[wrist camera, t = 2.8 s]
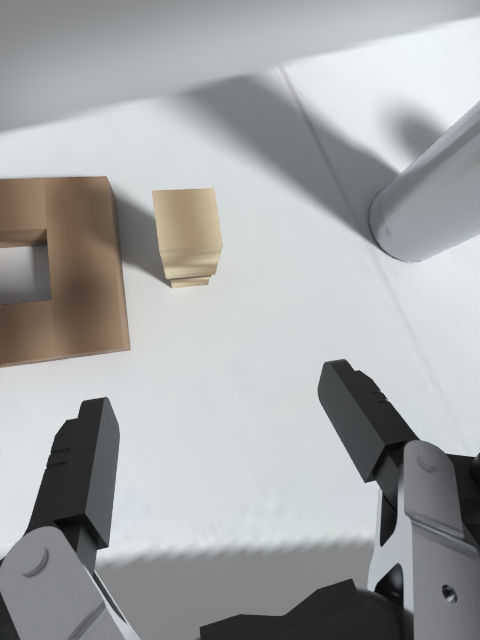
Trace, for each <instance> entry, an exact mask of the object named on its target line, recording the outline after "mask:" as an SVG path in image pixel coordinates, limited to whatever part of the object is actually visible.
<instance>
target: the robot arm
mask: <svg viewBox="0 0 480 640" xmlns="http://www.w3.org/2000/svg"><path fill="white" fill-rule="evenodd" d="M369 220H370V227H371V230H372V233H373V235H374V237H375V239H376V241H377V242H378V244H379V245H380V246H381V247H382V249H384V250H385V251H386V252H387V253H388V254H389V255H391V256H393V257H395V258H396V259H399V260H402V261H405V262H420V261H422V260H425V259H428V258H430V257H432V256H434V255H436V254H438V253H440V252H443V251H445V250H447V249H449V248H451V247H453V246H456V245H458V244H460V243H462V242H464V241H466V240H469V239H471V238H473V237H475V236H477V235H479V234H480V101H479V102H478V103H477V104H476V105H475V106H473V107H472V108H471V109H470V110H469V111H468V112H467V113H466V114H465V115H464V116H463V117H462V118H460V119H459V120H458V121H457V122H456V123H455V124H454V125H453V126H452V127H451V128H450V129H449V130H447V131H446V132H445V133H444V134H443V135H442V136H441V137H440V138H439V139H438V140H437V141H436V142H434V143H433V144H432V145H431V146H430V147H429V148H428V149H427V150H426V151H425V152H424V153H423V154H422V155H420V156H419V157H418V158H417V159H416V160H415V161H414V162H413V163H412V164H411V165H410V166H409V167H407V168H406V169H405V170H404V171H403V172H402V173H401V174H400V175H399V176H398V177H397V178H395V179H394V180H393V181H392V182H391V183H390V184H389V185H388V186H387V187H386V188H385V189H384V190H383V191H382V192H381V193H380V194H378V195H377V196H376V198H375V199H374V201H373V203H372V205H371V208H370V215H369ZM318 397H319V400H320V403H321V405H322V406H323V408H324V410H325V412H326V414H327V416H328V417H329V419H330V421H331V423H332V425H333V426H334V428H335V430H336V432H337V434H338V435H339V437H340V439H341V441H342V443H343V444H344V446H345V448H346V450H347V452H348V453H349V455H350V457H351V459H352V461H353V463H354V464H355V466H356V468H357V470H358V472H359V473H360V475H361V477H362V479H363V481H364V482H365V483H367V482H371V481H375V480H376V481H377V483H378V485H379V486H380V489H379V493H378V507H377V523H376V538H375V549H374V554H373V558H372V561H371V564H370V569H369V576H368V587H367V590H366V589H362V588H356V587H355V585H354V582H353V580H352V579H349V580H346V581H342V582H339V583H336V584H333V585H330V586H327V587H324V588H321V589H318V590H316V591H315V592H314V593H312V594H311V595H310V596H309V597H308V598H306V599H305V600H304V601H302V602H301V603H300V604H299V605H297V606H296V607H295V608H293V609H292V610H291V611H290V612H288V613H287V614H286V615H283V616H262V615H243V614H240V615H237V616H233V617H230V618H227V619H224V620H221V621H218V622H215V623H212V624H209V625H205V626H202V627H200V636H199V637H198V638H197V639H196V640H480V453H479V454H478V455H477V456H476V457H469V456H460V455H452V454H445V453H444V452H443V451H442V450H441V449H439V448H438V447H436V446H435V445H433V444H431V443H429V442H426V441H421V440H420V439H419V438H418V437H417V436H416V435H415V433H414V432H413V431H412V430H411V428H410V427H409V426H408V424H407V423H406V422H405V421H404V419H403V418H402V417H401V416H400V414H399V413H398V412H397V410H396V409H395V408H394V407H393V405H392V404H391V403H390V402H388V399H387V398H386V396H385V395H384V394H383V393H382V392H381V391H380V389H379V388H378V386H377V385H376V384H375V382H374V381H373V380H372V379H371V378H370V377H368V376H367V375H365V374H364V373H363V372H361V371H360V370H358V371H354V369H353V368H352V367H351V365H350V364H349V363H348V361H346V360H345V359H341V360H335V361H329V362H325V363H324V365H323V369H322V373H321V377H320V381H319V385H318ZM119 441H120V433H119V425H118V422H117V419H116V417H115V414H114V411H113V409H112V406H111V403H110V401H109V399H108V397H104V398H98V399H91V400H85V401H83V402H82V403H81V406H80V410H79V414H78V418H76V419H70V420H66V422H65V423H64V424H63V426H62V427H61V428H60V430H59V431H58V433H57V434H56V435H55V438H54V442H53V445H52V448H51V455H49V458H48V462H47V465H46V466H47V468H46V469H45V472H44V475H43V479H42V482H41V485H40V489H39V492H38V495H37V499H36V502H35V506H34V509H33V512H32V516H31V519H30V522H29V525H28V528H27V530H26V532H25V534H24V535H23V537H22V538H21V539H20V540H19V541H18V542H17V543H16V544H15V545H14V546H13V547H12V548H11V550H10V551H9V552H8V554H7V555H6V556H5V557H4V558H3V559H2V560H0V640H140V638H139V637H138V635H137V634H136V633H135V632H134V630H133V629H132V627H131V626H130V624H129V623H128V621H127V620H126V618H125V617H124V615H123V613H122V612H121V610H120V609H119V607H118V606H117V604H116V603H115V601H114V599H113V598H112V596H111V595H110V593H109V592H108V590H107V588H106V587H105V585H104V584H103V582H102V581H101V579H100V577H99V576H98V574H97V573H96V571H95V570H94V568H95V560H96V553H97V550H99V549H103V548H107V547H109V538H110V529H111V519H112V509H113V499H114V490H115V480H116V470H117V461H118V451H119Z"/></svg>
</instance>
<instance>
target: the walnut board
mask: <svg viewBox="0 0 480 640" xmlns="http://www.w3.org/2000/svg"><path fill="white" fill-rule="evenodd" d="M36 245H48V258H49V274H50V289H51V300H45V301H35V302H25V303H15V304H5V305H0V368H3V367H10V366H17V365H25V364H32V363H39V362H47V361H54V360H61V359H68V358H76V357H83V356H90V355H98V354H105V353H112V352H120V351H127V350H130V341H129V331H128V321H127V311H126V301H125V291H124V281H123V271H122V261H121V251H120V241H119V231H118V222H117V212H116V202H115V195H114V193H113V190H112V188H111V186H110V183H109V181H108V178H107V176H101V177H67V178H33V179H0V248H7V247H22V246H36Z"/></svg>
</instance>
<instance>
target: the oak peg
mask: <svg viewBox="0 0 480 640" xmlns="http://www.w3.org/2000/svg"><path fill="white" fill-rule="evenodd" d="M152 195H153V203H154V211H155V220H156V228H157V236H158V245H159V252H160V256H161V260H162V264H163V268H164V272H165V276H166V279H169V281H171V285H172V288H179V287H189V286H199V285H208V281H209V277H211V275H213V274H215V272H216V268H217V264H218V261H219V257H220V254H221V250H222V246H223V243H222V237H221V230H220V223H219V217H218V210H217V204H216V197H215V191H214V188H209V189H184V190H159V191H152Z"/></svg>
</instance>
